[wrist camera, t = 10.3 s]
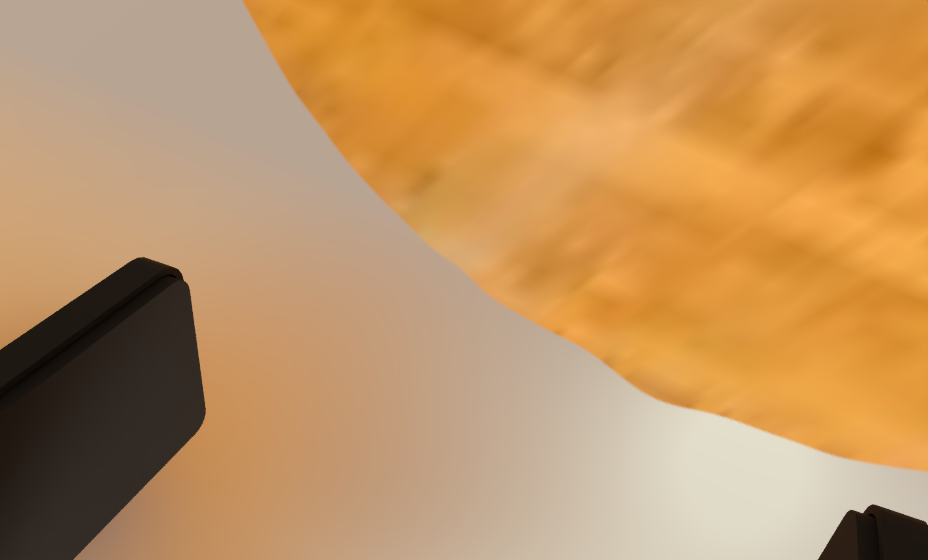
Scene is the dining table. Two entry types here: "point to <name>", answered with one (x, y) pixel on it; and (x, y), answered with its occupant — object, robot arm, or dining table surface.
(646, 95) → the dining table surface
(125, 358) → the robot arm
